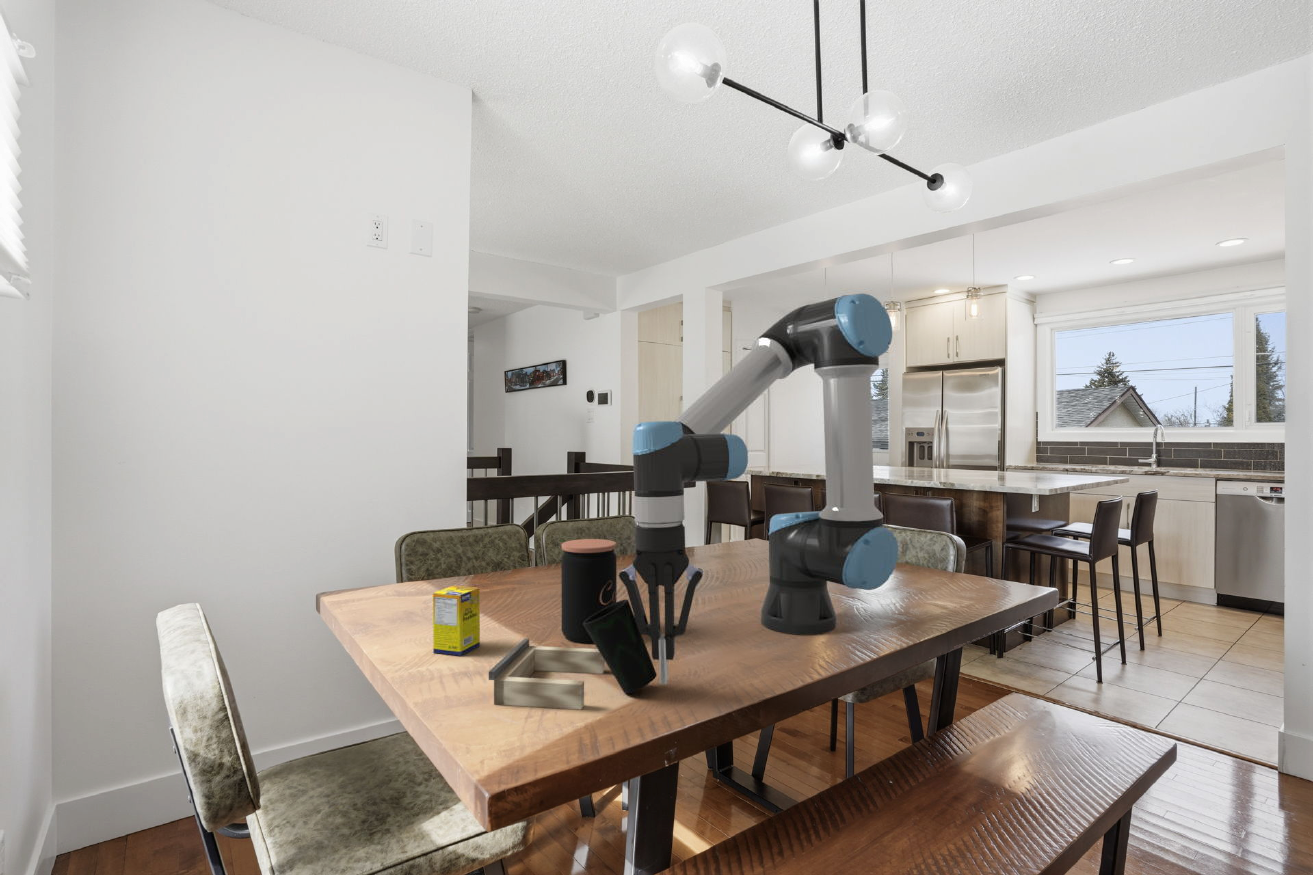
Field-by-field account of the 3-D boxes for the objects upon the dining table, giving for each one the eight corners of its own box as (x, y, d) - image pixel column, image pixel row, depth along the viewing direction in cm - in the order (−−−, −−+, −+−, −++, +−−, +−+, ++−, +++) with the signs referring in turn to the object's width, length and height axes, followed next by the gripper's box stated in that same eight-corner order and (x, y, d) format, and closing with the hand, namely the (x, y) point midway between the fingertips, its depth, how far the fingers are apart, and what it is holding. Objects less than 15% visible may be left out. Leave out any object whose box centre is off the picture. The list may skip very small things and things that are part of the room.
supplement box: (480, 646, 116) (480, 587, 116) (460, 656, 110) (460, 594, 110) (453, 642, 117) (453, 584, 117) (432, 653, 112) (432, 592, 112)
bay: (604, 670, 103) (604, 641, 103) (581, 709, 88) (581, 676, 88) (524, 666, 105) (524, 638, 105) (488, 703, 90) (488, 671, 90)
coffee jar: (608, 646, 115) (607, 548, 115) (553, 642, 117) (553, 547, 117) (622, 628, 126) (622, 539, 126) (572, 625, 128) (572, 538, 128)
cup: (618, 687, 98) (585, 617, 99) (661, 664, 99) (628, 595, 99) (616, 703, 90) (580, 628, 91) (663, 678, 91) (626, 604, 92)
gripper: (702, 520, 97) (706, 672, 97) (623, 521, 99) (627, 670, 98) (700, 526, 90) (704, 691, 89) (614, 527, 91) (618, 689, 91)
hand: (663, 680), depth 94 cm, fingers closed
